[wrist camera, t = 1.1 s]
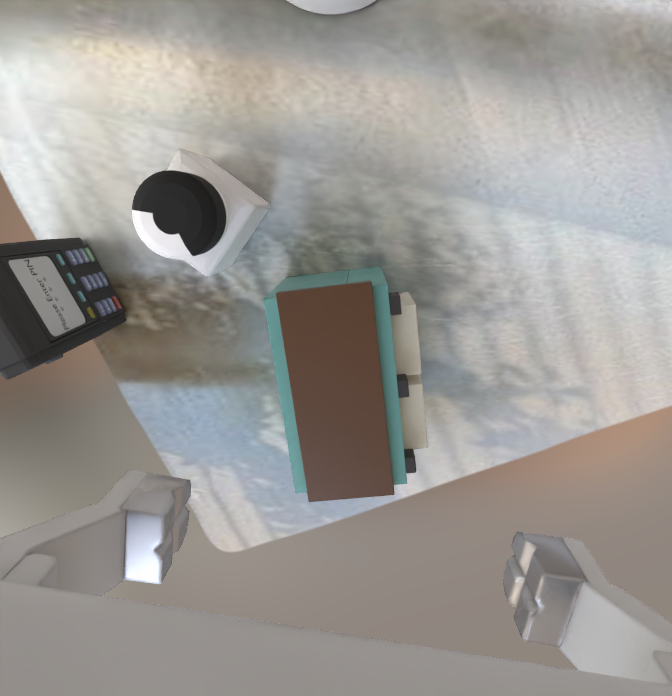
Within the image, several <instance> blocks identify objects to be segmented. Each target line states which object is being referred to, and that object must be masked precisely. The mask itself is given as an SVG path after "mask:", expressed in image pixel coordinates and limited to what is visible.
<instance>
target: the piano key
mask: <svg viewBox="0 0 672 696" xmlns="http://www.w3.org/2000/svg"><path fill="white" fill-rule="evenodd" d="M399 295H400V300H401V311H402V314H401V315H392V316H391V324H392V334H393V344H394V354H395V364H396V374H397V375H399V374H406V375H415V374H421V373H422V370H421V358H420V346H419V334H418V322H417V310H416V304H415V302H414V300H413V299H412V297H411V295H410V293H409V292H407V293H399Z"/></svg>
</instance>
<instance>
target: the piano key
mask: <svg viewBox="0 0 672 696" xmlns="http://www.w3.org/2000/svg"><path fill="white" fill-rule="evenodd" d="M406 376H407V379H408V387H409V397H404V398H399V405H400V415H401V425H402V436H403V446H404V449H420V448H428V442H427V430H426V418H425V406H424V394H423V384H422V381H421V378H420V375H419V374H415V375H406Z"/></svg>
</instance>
